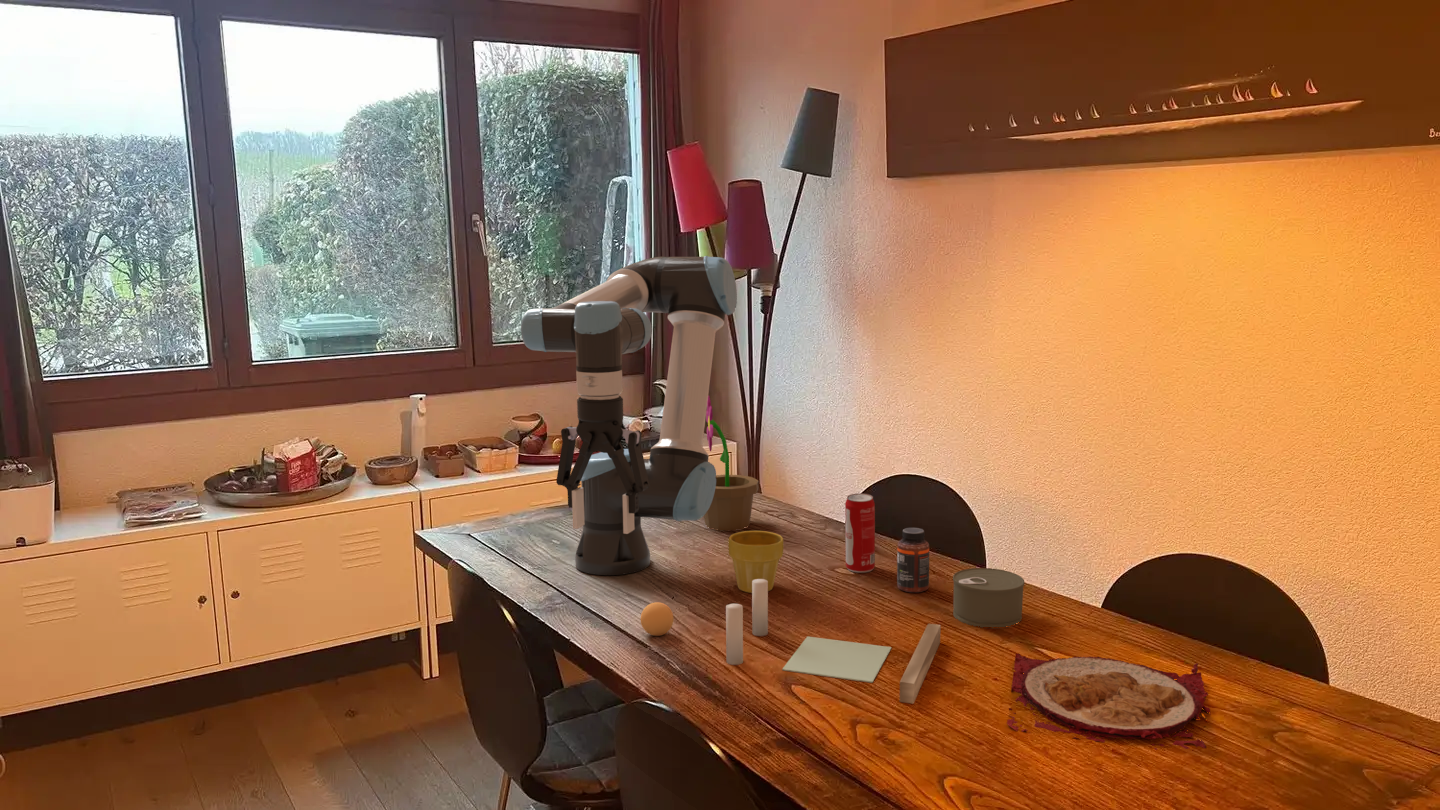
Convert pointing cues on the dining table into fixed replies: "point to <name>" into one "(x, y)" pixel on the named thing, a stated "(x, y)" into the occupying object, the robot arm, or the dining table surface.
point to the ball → (657, 619)
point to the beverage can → (860, 533)
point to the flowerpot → (728, 490)
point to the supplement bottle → (913, 561)
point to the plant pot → (755, 557)
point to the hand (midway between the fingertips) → (603, 528)
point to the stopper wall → (919, 664)
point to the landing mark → (838, 659)
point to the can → (988, 597)
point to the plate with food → (1109, 697)
